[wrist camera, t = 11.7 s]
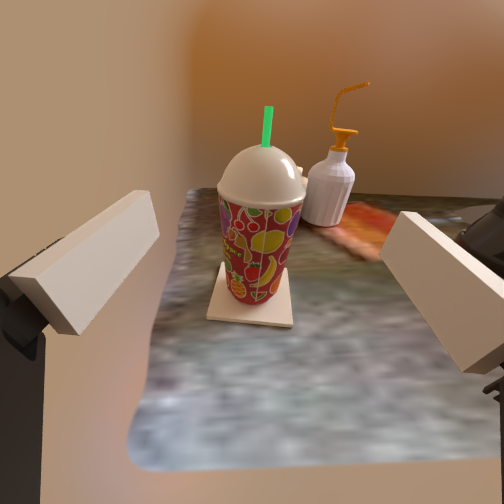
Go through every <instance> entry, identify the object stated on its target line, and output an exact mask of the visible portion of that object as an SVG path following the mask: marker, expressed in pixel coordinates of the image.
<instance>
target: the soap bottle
mask: <svg viewBox="0 0 504 504" xmlns="http://www.w3.org/2000/svg"><path fill="white" fill-rule="evenodd" d="M368 85H369V82H366V83H363V84H359V85H355V86H352V87H348V88H345V89H343V90H341V92H340V93H338V95H337V97H336V99H335V104H334V107H333V112H332V115H331V120H330V130H331V131H332V132H336V133H335V138H337V141H336V145H335V146H331V147H330V150H329V154H328V157H327V159H326V160H324V161H322V162H319V163H318V164H316V165H315V166H313V167H312V168H311V170H310V171H309V174H308V183H307V187H306V191H305V192H306V196H305V198H304V200H303V205H302V209H301V214H300V216H301V217H302V219H303V220H305V221H307V222H308V223H311V224H313V225H317V226H323V227H330V226H335V225H337V224H338V223H339V222H340V219H341V216H342V214H343V211H344V208H345V205H346V202H347V199H348V197H349V194H350V191H351V188H352V185H353V182H354V180H355V174H354V172H353V170H352V169H351V168H350V167H349V166H348V165H347V164H346V162H345V158H346V155H347V151H348V148H346V147H344V146H345V142H346V139H350V137H351V134H354V135H357V134H358V131H356V130H348V129H338V128H333V126H332V121H333V117H334V113H335V109H336V105H337V101H338V99H339V97H340V95H341V94H343V93H345V92H349V91H352V90H356V89H359V88H362V87H366V86H368Z"/></svg>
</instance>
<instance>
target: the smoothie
mask: <svg viewBox="0 0 504 504" xmlns="http://www.w3.org/2000/svg"><path fill="white" fill-rule="evenodd" d="M272 115H273V107H267V106H265V112H264V125H263V136H262V145H256V146H253V147H250V148H247V149H245V150H243V151H241V152H240V153H239V154H237V155H236V156H235V157H234V158H233V159H232V161H231V162H230V163H229V165H228V167H227V168H226V170H225V172H224V174H223V177H222V180H220V182H219V183H218V185H217V190H218V198H219V209H220V219H221V230H222V241H223V252H224V262H225V273H226V283H227V287H228V289H229V290H230V292H231V293H232V295H233V296H234V297H235V298H236V299H237V300H239V301H240V302H242V303H245V304H250V305H257V304H262V303H264V302H266V301H268V300H269V299H270V298H271V297H272V296H273V295H274V294H275V293H276V292H277V290H278V287H279V284H280V280H281V277H282V273H283V270H284V267H285V263H286V260H287V256H288V253H289V249H290V246H291V242H292V239H293V235H294V232H295V228H296V225H297V221H298V218H299V215H300V211H301V208H302V204H303V200H304V198H305V196H306V192H305V189H304V188H303V186H302V181H301V176H300V173H299V171H298V169H297V166H296V165H295V163H294V161H293V160H292V159H291V158H290V157H289V156H288V155H287V154H286V153H284V152H283V151H281V150H279V149H278V148H276V147H274V146H270V145H269V144H270V134H271V125H272Z"/></svg>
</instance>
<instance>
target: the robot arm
mask: <svg viewBox="0 0 504 504" xmlns="http://www.w3.org/2000/svg"><path fill="white" fill-rule="evenodd" d="M159 236H160V234H159V230H158V226H157V222H156V218H155V213H154V209H153V205H152V201H151V197H150V193H149V191H143V190H134V191H132V192H131V193H129V194H128V195H126V196H125V197H123V198H122V199H120V200H119V201H117V202H116V203H114V204H113V205H112V206H110V207H109V208H107V209H106V210H104V211H103V212H102V213H100V214H98V215H97V216H95V217H94V218H92V219H91V220H89V221H88V222H86V223H85V224H83V225H82V226H80V227H79V228H78V229H76V230H75V231H73V232H72V233H70V234H69V235H67V236H65V237H63V238H61V239H58V240H57V241H55V242H54V243H52V244H51V245H49V246H48V247H47V248H46V249H43V250H42V251H40V252H39V253H37V255H36V256H33V257H31V258H30V259H28V260H27V261H25V262H24V263H22V264H21V265H19V266H18V267H16V268H15V269H13V270H12V271H10V272H9V273H7V274H6V275H4V276H3V277H1V278H0V504H40V484H41V457H42V455H41V454H42V428H43V427H42V426H43V402H44V374H45V346H46V345H45V344H46V338H45V335H44V333H42V330H43V329H44V328H45V327H46V326H47V325H48V324H50V325H51V326H52V327H53V328H54V329H55V331H56V332H57V333H58V334H68V335H78V336H80V334H81V333H82V332H83V331H84V329H85V328H86V327H87V326H88V324H89V323H90V322H91V321H92V319H93V318H94V317H95V316H96V314H97V313H98V312H99V310H100V309H101V308H102V307H103V306H104V304H105V303H106V302H107V301H108V299H109V298H110V297H111V296H112V294H113V293H114V292H115V291H116V289H117V288H118V287H119V286H120V284H121V283H122V282H123V281H124V280H125V278H126V277H127V276H128V275H129V273H130V272H131V271H132V269H133V268H134V267H135V266H136V265H137V263H138V262H139V261H140V259H141V258H142V257H143V256H144V255H145V253H146V252H147V251H148V250H149V248H150V247H151V246H152V244H153V243H154V242H155V241H156V239H157V238H158V237H159ZM379 255H380V257H381V258H382V260H383V261H384V262H385V264H386V265H387V267H388V268H389V270H390V271H391V272H392V274H393V275H394V277H395V278H396V279H397V281H398V282H399V284H400V285H401V287H402V288H403V289H404V291H405V292H406V294H407V295H408V296H409V298H410V299H411V301H412V302H413V304H414V305H415V306H416V308H417V309H418V311H419V312H420V314H421V315H422V316H423V318H424V319H425V321H426V322H427V323H428V325H429V326H430V328H431V329H432V331H433V332H434V333H435V335H436V336H437V338H438V339H439V341H440V342H441V343H442V345H443V346H444V348H445V349H446V350H447V352H448V353H449V355H450V356H451V358H452V359H453V360H454V362H455V363H456V365H457V366H458V367H459V369H460V370H461V372H465V373H476V374H486V373H488V372H490V371H491V370H493V369H494V368H496V367H497V366H499V365H500V366H501V367H502V368H503V369H504V280H503V279H501V278H500V277H503V278H504V196H503V197H502V198H501V199H500V201H499V202H498V203H497V204H496V206H495V207H494V208H493V209H492V210H491V211H490V212H489V213H487V214H486V215H484V216H483V217H481V218H480V219H478V220H477V221H476V222H474V223H473V224H472V225H470V226H469V227H468V228H467V229H464V230H463V231H461V232H460V233H459V234H458V235H457V237H456V238H455V239H454V241H452V240H451V239H450V238H448V237H447V236H446V235H445V234H443V233H442V232H441V231H439V230H438V229H437V228H435V227H434V226H433V225H432V224H430V223H429V222H428V221H426V220H425V219H424V218H423V217H421V216H420V215H419V214H417V213H416V212H404V211H401V212H400V214H399V216H398V218H397V220H396V222H395V224H394V226H393V227H392V229H391V231H390V233H389V235H388V237H387V239H386V241H385V243H384V245H383V247H382V248H381V250H380V252H379ZM499 276H500V277H499ZM494 390H496V391H499V392H500V394H499V395H497V396H495V397H493V399H495V400H496V401H498V402H500V431H501V474H502V504H504V376H503V377H502V378H500V379H498V380H496V381H495V382H493V383H491V384H489V385H488V386H486V387H484V389H483V391H482V392H483V393H485V394H488V393H490V392H492V391H494Z"/></svg>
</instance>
